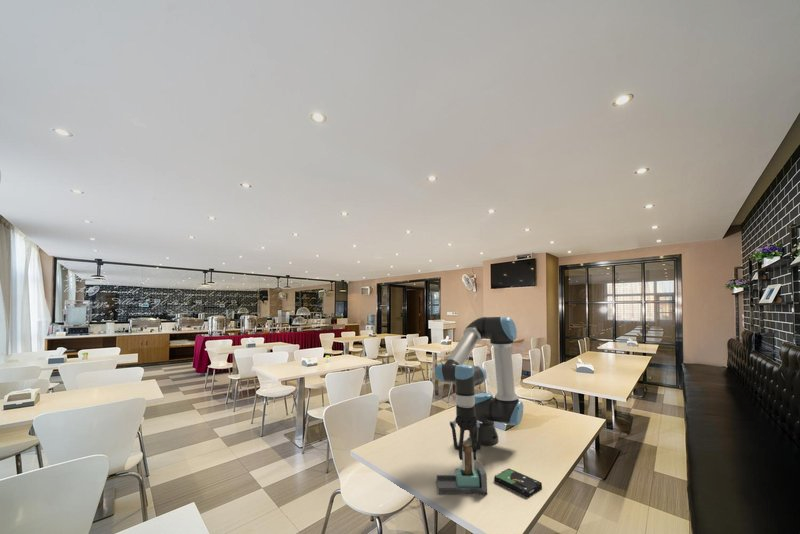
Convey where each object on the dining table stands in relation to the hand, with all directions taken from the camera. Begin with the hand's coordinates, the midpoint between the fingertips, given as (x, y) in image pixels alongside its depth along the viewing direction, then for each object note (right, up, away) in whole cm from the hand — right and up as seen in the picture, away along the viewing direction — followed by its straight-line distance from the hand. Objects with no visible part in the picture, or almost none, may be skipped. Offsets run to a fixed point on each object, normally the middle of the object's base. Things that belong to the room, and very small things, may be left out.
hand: (467, 468), depth 124 cm
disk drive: (+19, -7, 0) cm, 21 cm away
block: (0, -6, -1) cm, 6 cm away
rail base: (-3, -7, -1) cm, 7 cm away
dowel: (0, -4, -1) cm, 4 cm away
